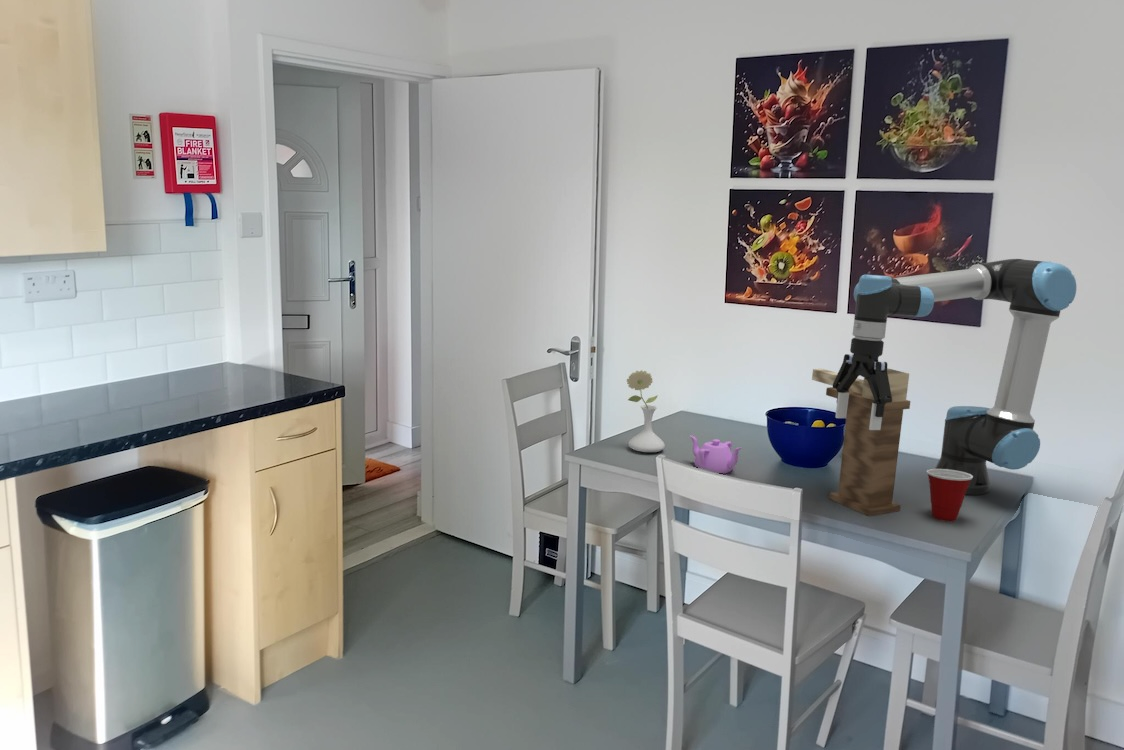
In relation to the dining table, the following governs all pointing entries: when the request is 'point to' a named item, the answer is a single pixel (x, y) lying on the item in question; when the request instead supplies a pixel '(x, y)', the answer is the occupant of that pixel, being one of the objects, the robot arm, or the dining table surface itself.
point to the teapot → (715, 456)
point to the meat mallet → (896, 382)
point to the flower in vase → (646, 437)
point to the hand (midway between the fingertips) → (857, 423)
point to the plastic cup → (947, 492)
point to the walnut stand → (869, 456)
